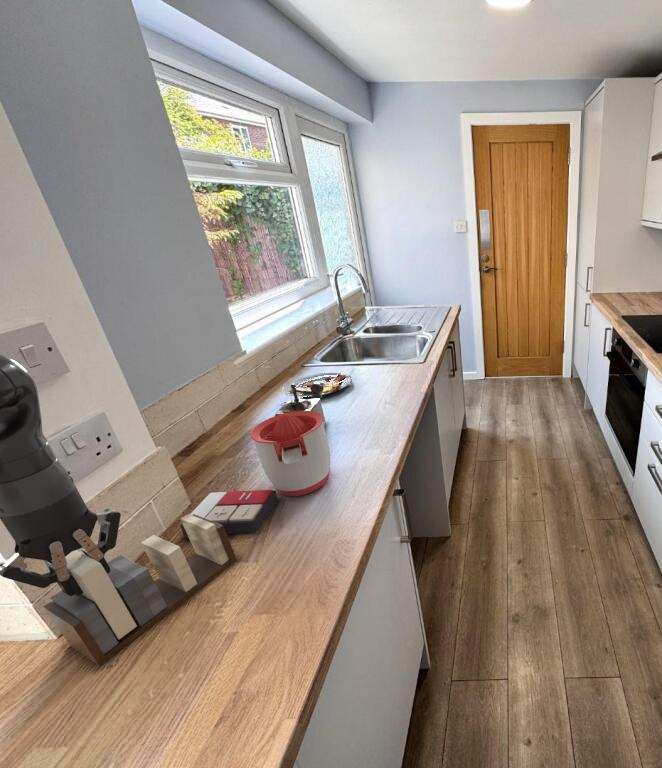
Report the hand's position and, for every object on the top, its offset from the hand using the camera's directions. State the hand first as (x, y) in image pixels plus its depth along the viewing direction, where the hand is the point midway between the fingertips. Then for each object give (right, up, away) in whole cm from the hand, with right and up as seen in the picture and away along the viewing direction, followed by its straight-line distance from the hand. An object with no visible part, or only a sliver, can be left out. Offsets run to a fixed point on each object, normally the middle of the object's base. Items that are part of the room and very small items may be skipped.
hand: (90, 584), depth 63 cm
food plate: (-10, +29, +97) cm, 102 cm away
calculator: (+3, +1, +29) cm, 29 cm away
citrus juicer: (+13, +6, +39) cm, 42 cm away
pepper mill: (+3, +16, +65) cm, 67 cm away
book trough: (+3, -7, +10) cm, 12 cm away
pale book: (0, -8, +4) cm, 9 cm away
